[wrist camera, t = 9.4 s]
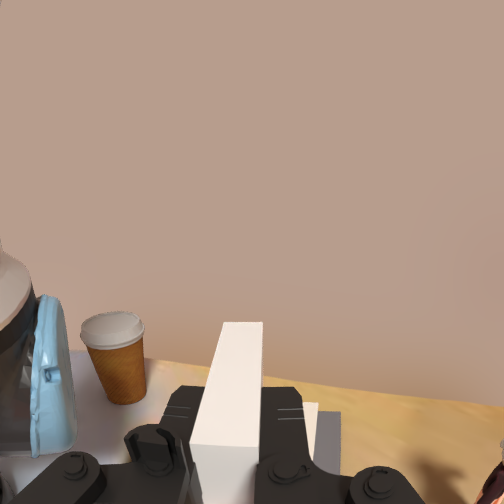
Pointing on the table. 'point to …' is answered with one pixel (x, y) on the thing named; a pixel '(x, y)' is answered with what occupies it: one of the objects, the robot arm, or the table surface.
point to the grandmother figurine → (493, 485)
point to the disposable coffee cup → (117, 354)
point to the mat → (327, 442)
